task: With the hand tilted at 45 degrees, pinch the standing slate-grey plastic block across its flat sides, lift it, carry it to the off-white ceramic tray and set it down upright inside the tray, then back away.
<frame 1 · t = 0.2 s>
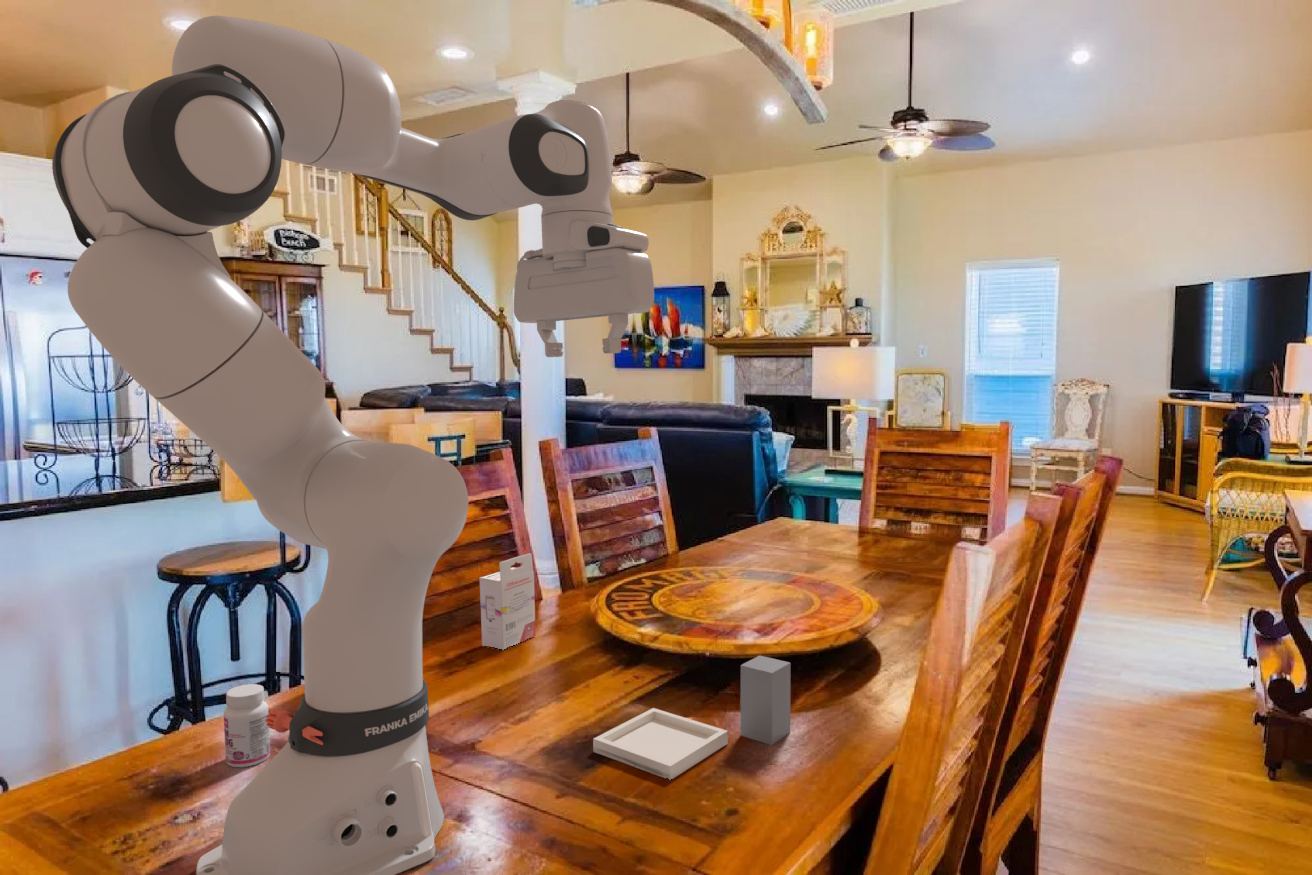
hand: (582, 355, 105), 47 cm above the table, tool pointing down, fingers open, 8 cm apart
pill bottle: (248, 760, 100), on the table
grey block: (765, 733, 106), on the table
tray: (661, 747, 102), on the table
ink cartridge box: (508, 642, 143), on the table
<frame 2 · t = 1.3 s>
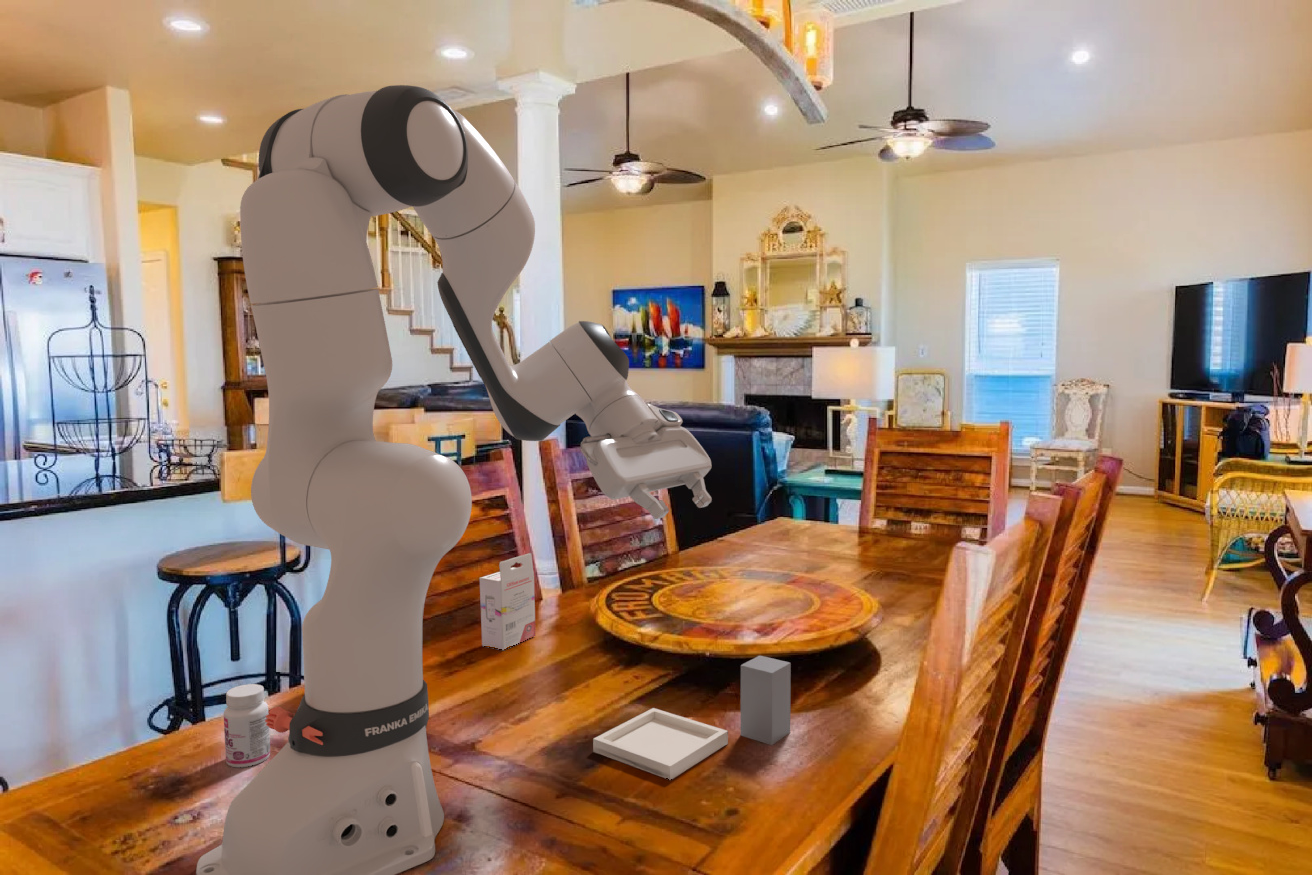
hand: (685, 509, 111), 27 cm above the table, tool tilted 45°, fingers open, 8 cm apart
nothing on the table moved.
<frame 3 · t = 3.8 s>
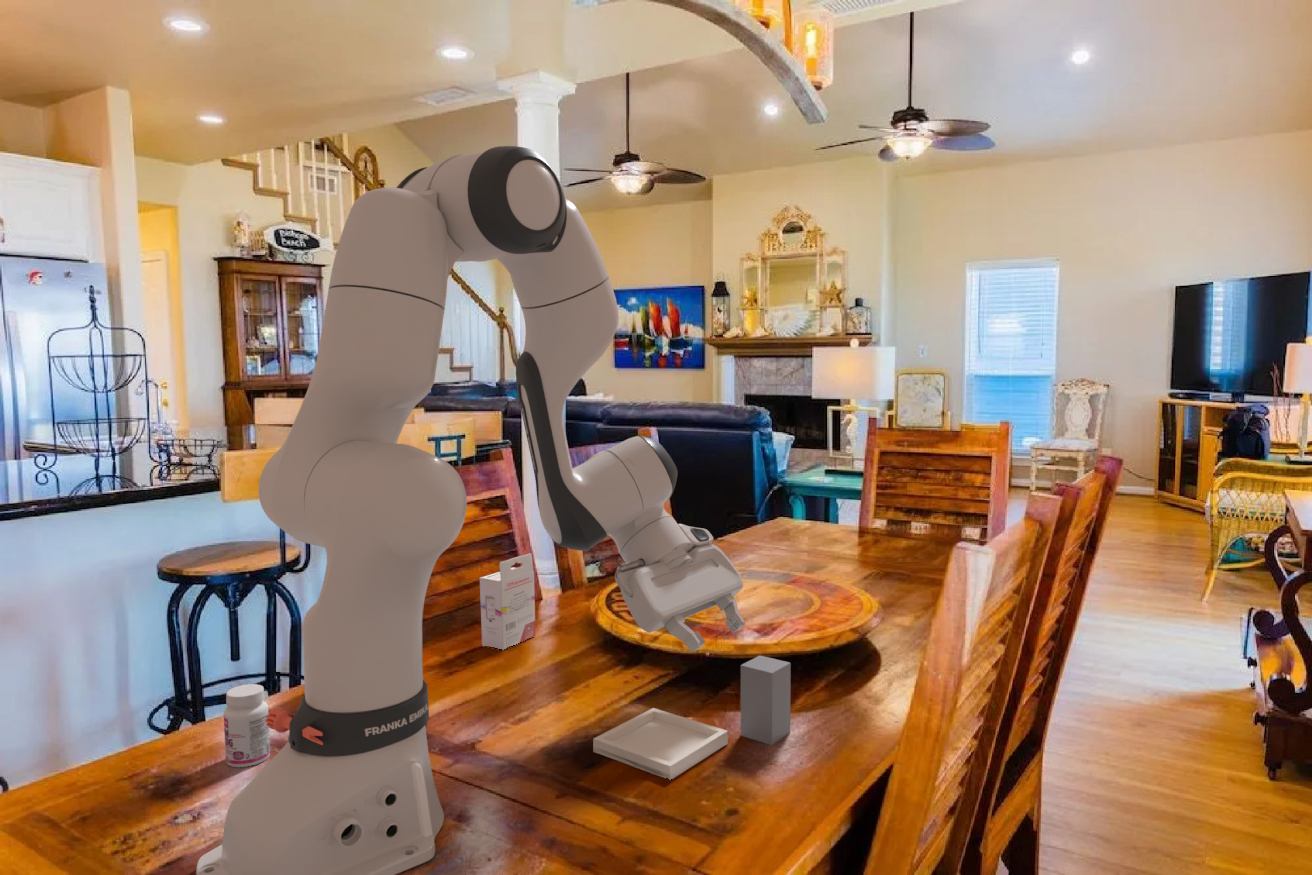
hand: (720, 637, 110), 11 cm above the table, tool tilted 45°, fingers open, 8 cm apart
nothing on the table moved.
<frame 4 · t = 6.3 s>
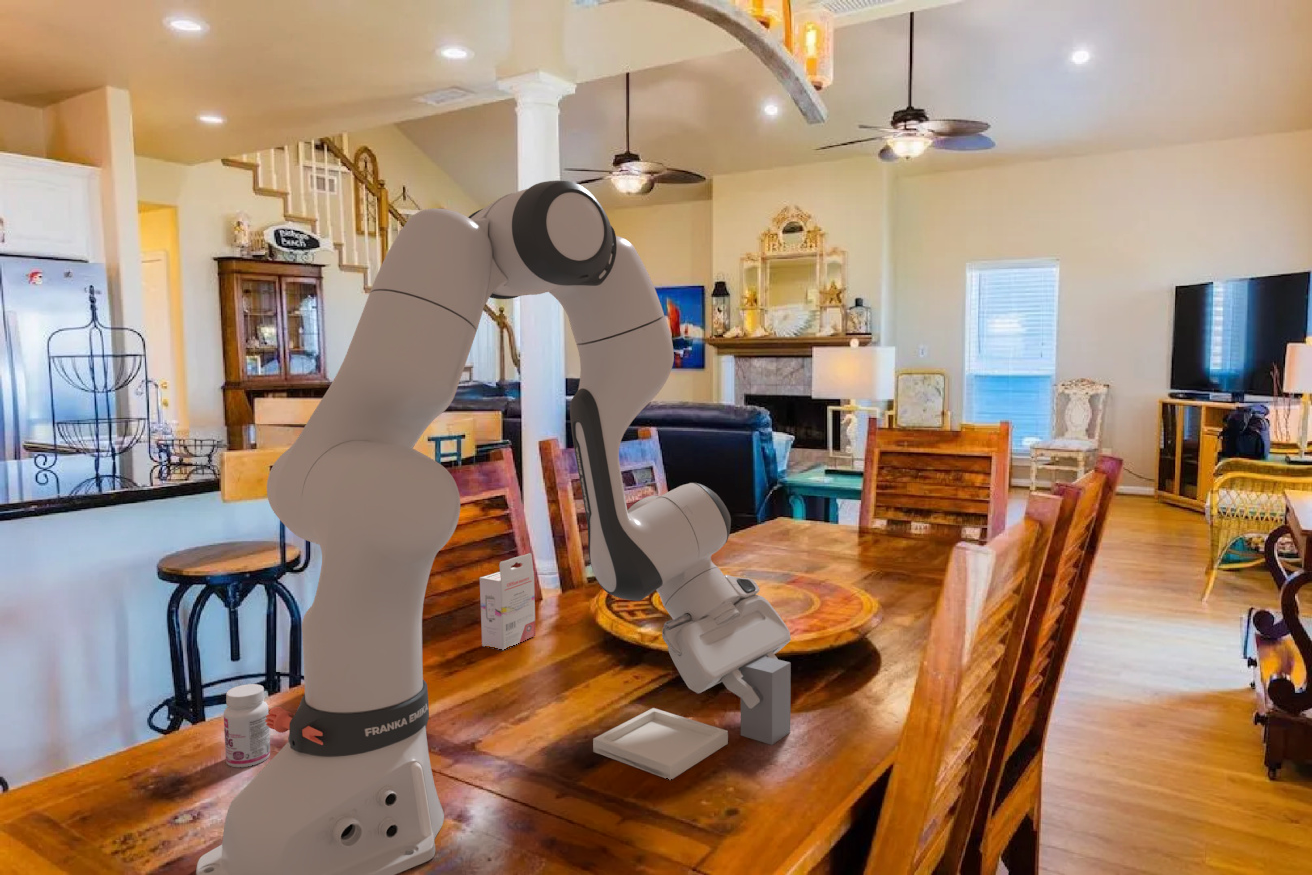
hand: (770, 696, 105), 5 cm above the table, tool tilted 45°, fingers closed on grey block, 4 cm apart
grey block: (765, 733, 106), on the table, touching gripper
everything else where it was.
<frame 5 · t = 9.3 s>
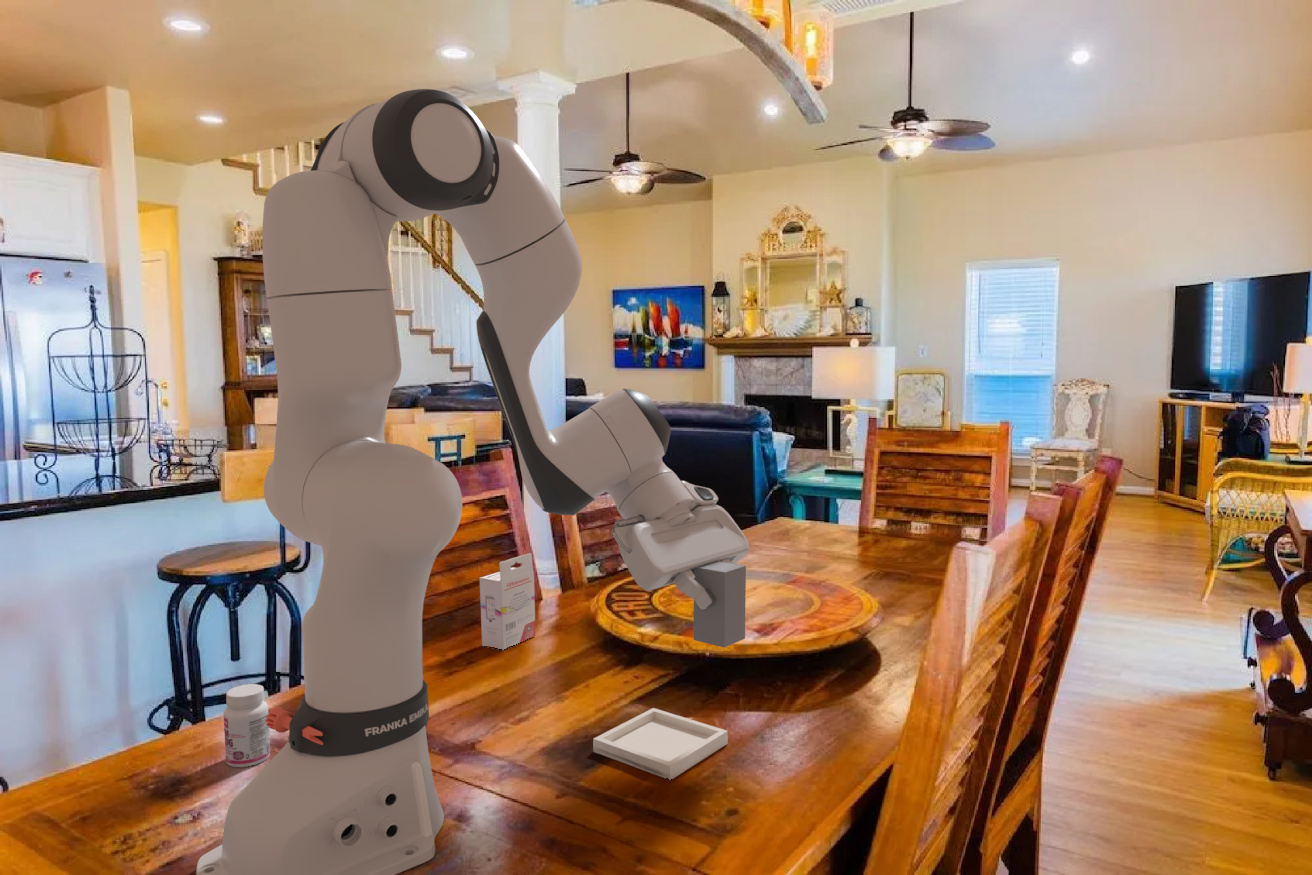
hand: (723, 600, 102), 18 cm above the table, tool tilted 45°, fingers closed on grey block, 4 cm apart
grey block: (719, 639, 103), point 13 cm above the table, touching gripper
everything else where it was.
when the fingers open (7 cm above the table, at t = 12.7 s): grey block drops 1 cm, resting on tray.
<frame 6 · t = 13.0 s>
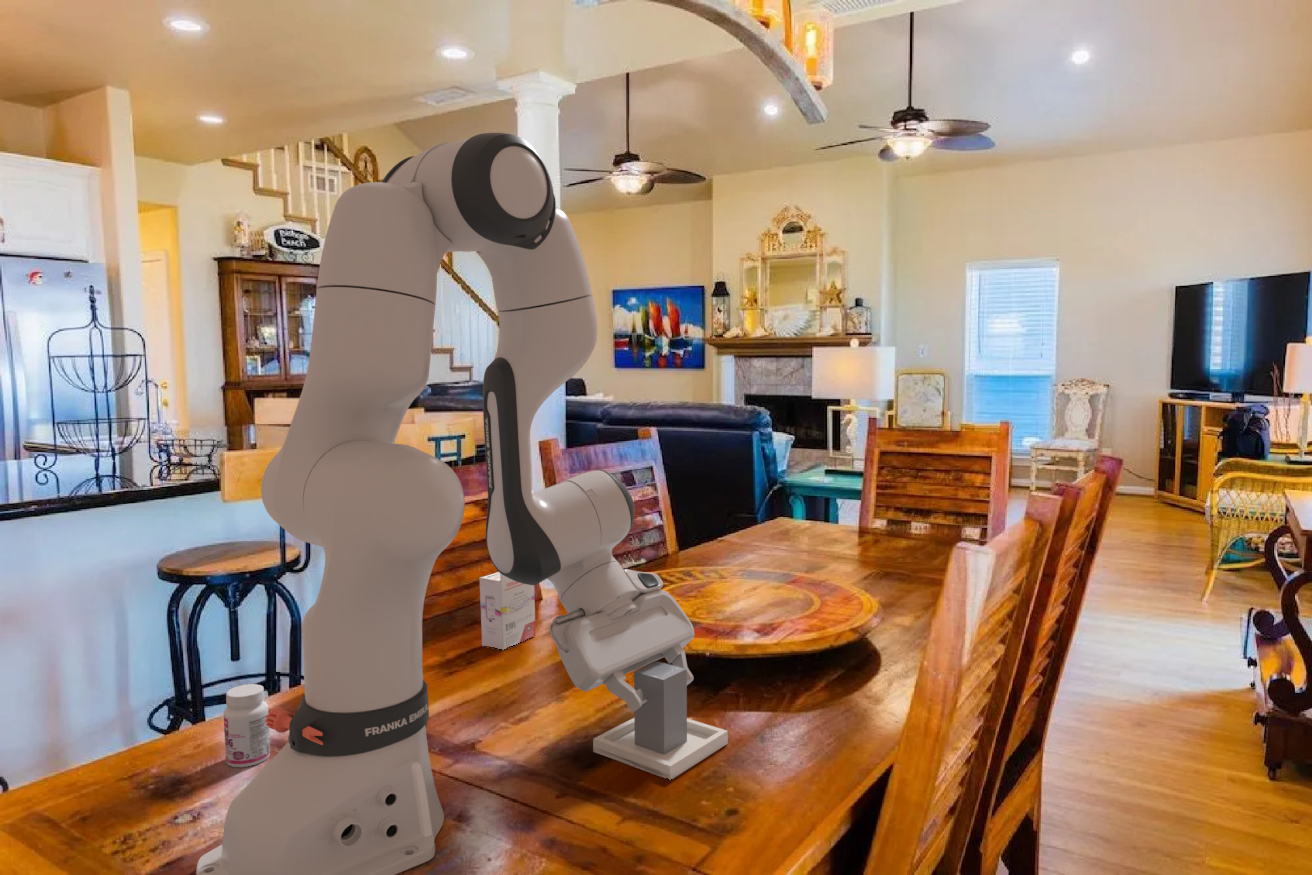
hand: (664, 695, 101), 7 cm above the table, tool tilted 45°, fingers open, 8 cm apart
grey block: (660, 742, 102), point 1 cm above the table, touching tray
everything else where it was.
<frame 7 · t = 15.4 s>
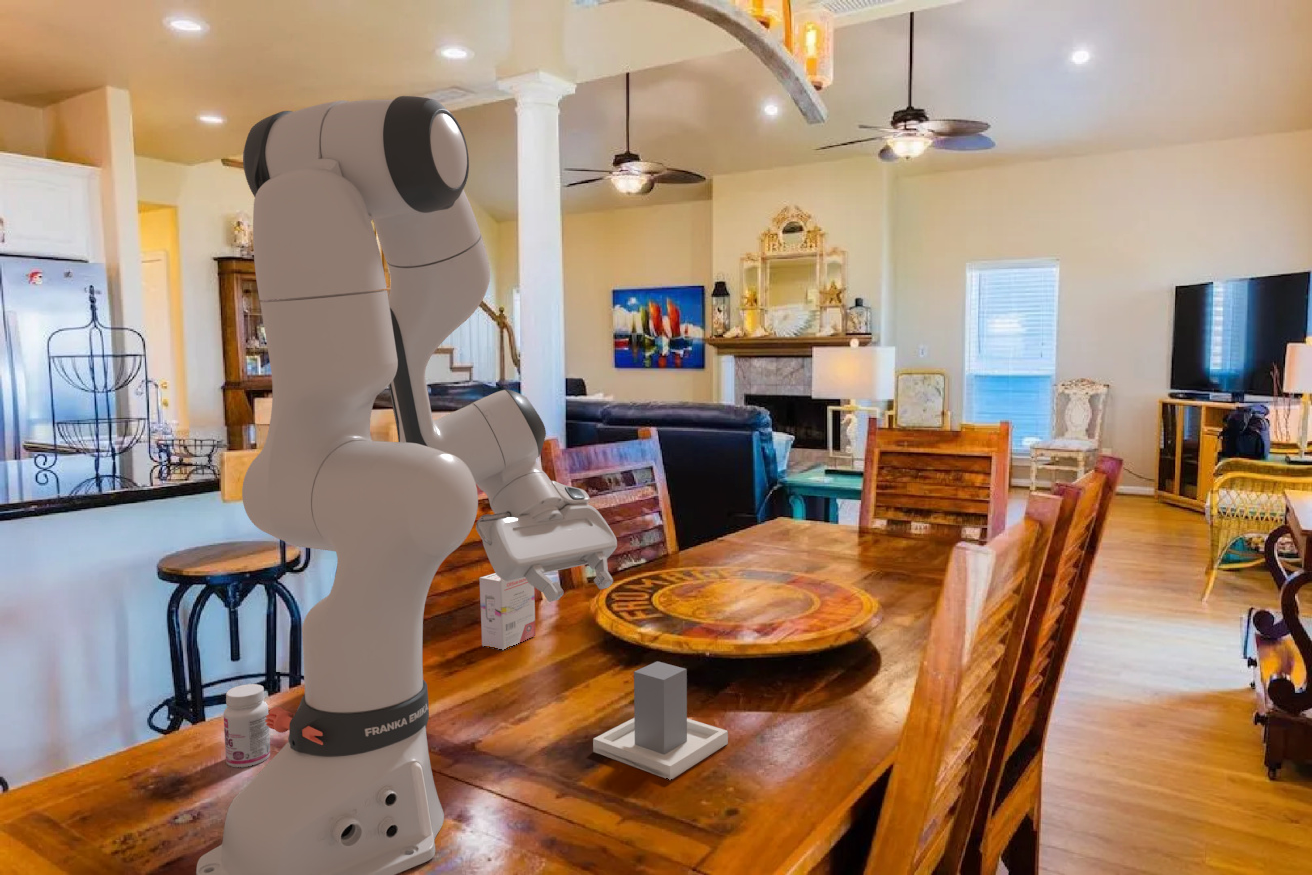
hand: (583, 591, 109), 17 cm above the table, tool tilted 45°, fingers open, 8 cm apart
nothing on the table moved.
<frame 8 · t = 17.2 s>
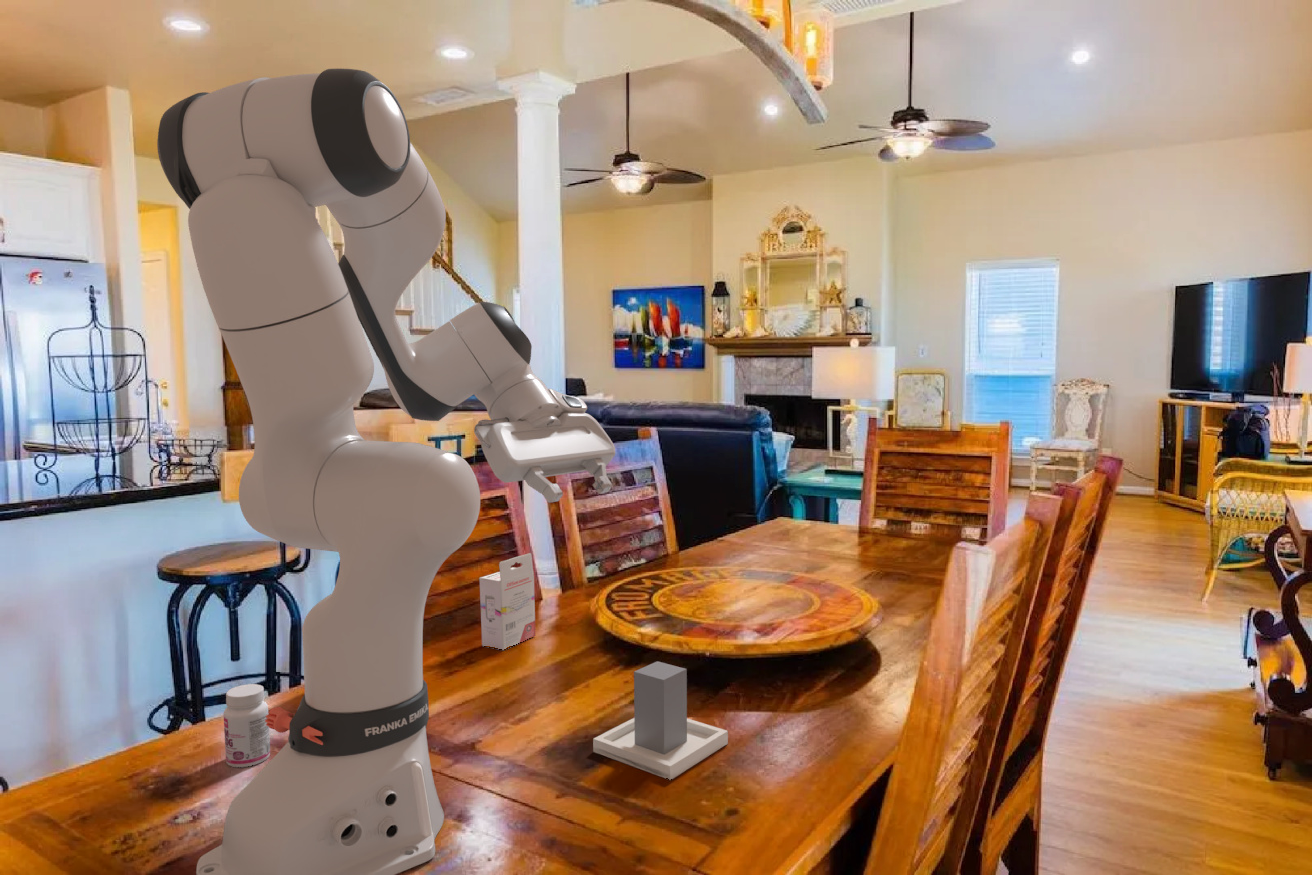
hand: (582, 494, 110), 29 cm above the table, tool tilted 45°, fingers open, 8 cm apart
nothing on the table moved.
at the end: grey block inside the target area on the tray (0.0 cm from its centre), point 0.6 cm above the tray's base; grey block tilted 0°; the gripper is holding nothing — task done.
